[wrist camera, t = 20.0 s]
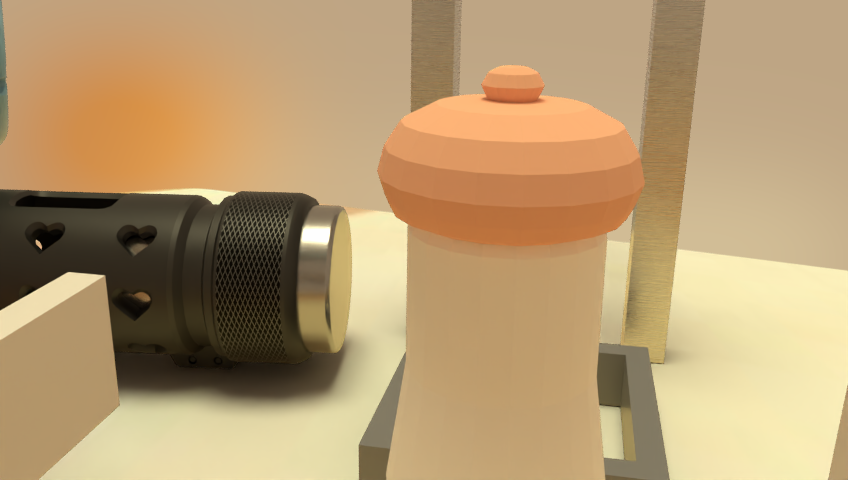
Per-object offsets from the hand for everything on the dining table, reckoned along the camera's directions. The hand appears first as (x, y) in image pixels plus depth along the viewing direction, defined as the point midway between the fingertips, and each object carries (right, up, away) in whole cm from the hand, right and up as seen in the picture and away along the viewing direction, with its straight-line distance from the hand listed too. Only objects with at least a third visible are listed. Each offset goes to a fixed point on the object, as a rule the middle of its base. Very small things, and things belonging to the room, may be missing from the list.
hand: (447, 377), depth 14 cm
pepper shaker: (+2, -12, +12) cm, 17 cm away
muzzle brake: (-19, -5, +33) cm, 39 cm away
